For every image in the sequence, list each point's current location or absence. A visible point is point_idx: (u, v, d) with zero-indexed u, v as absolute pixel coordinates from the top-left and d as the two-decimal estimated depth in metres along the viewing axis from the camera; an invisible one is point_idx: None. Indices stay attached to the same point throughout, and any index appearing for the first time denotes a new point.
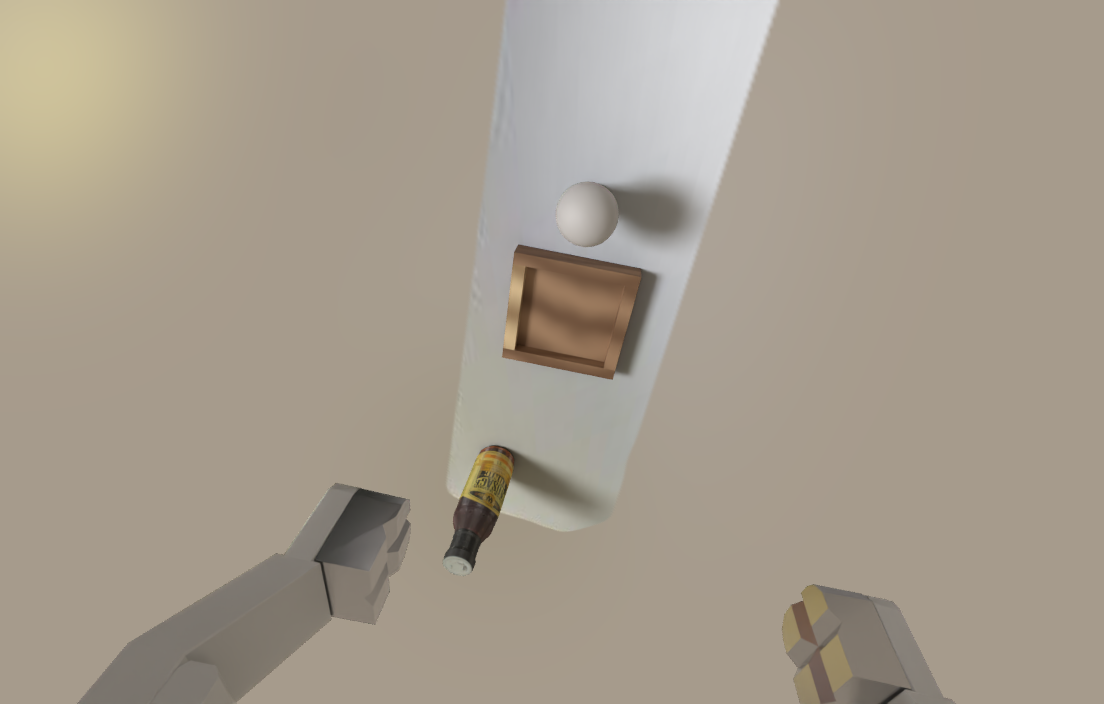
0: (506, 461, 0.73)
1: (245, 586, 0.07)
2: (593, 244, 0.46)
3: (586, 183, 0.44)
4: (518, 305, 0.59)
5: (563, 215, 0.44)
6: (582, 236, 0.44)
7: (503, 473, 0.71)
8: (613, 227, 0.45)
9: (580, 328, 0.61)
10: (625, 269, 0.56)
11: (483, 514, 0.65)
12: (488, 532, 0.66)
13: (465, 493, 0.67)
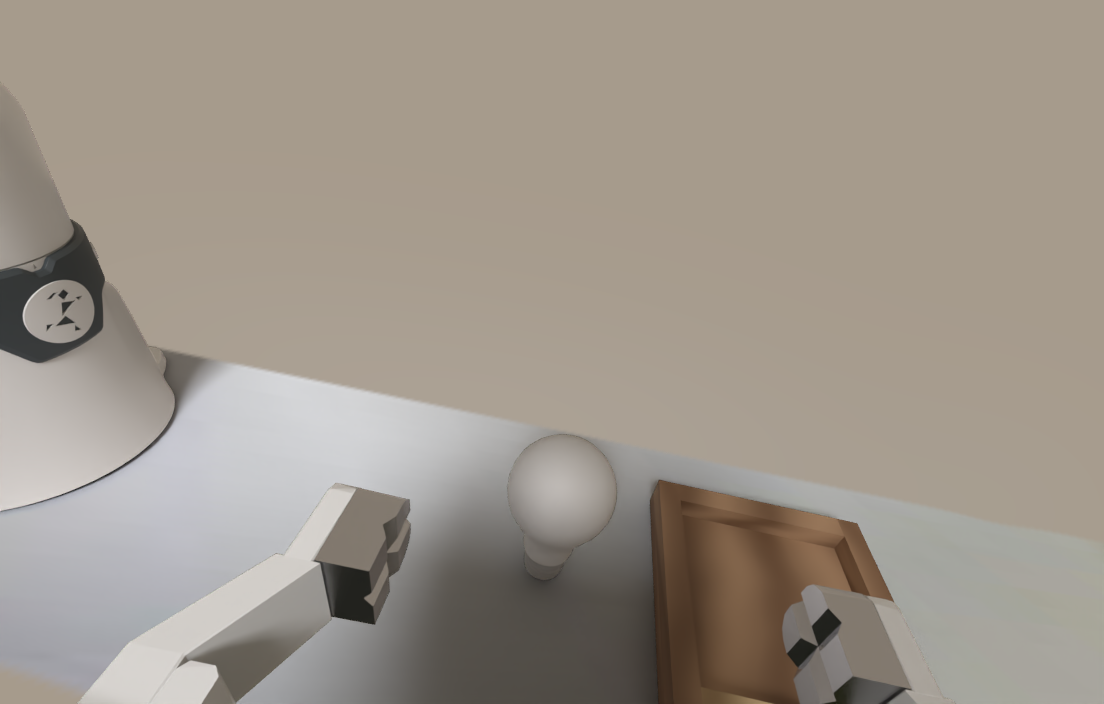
0: None
1: (245, 586, 0.07)
2: (607, 460, 0.26)
3: (508, 483, 0.26)
4: None
5: (560, 494, 0.24)
6: (594, 460, 0.25)
7: None
8: None
9: (791, 588, 0.32)
10: (655, 511, 0.35)
11: None
12: None
13: None
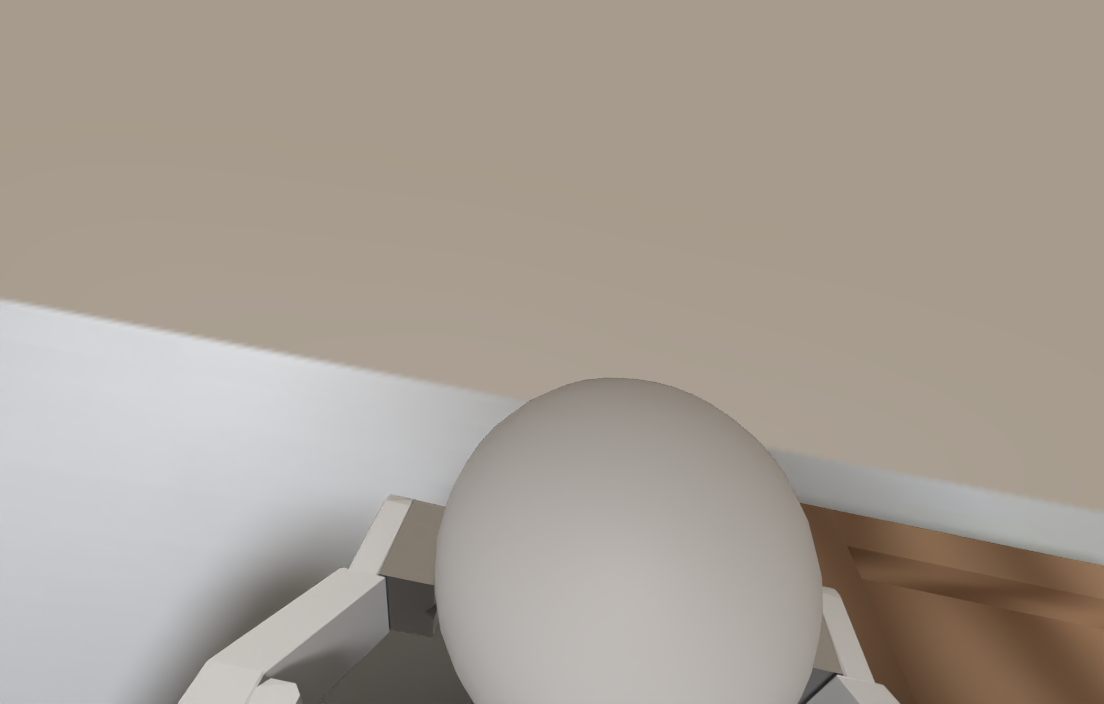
0: None
1: (315, 601, 0.07)
2: None
3: (438, 541, 0.08)
4: None
5: (642, 615, 0.05)
6: (752, 458, 0.07)
7: None
8: None
9: None
10: None
11: None
12: None
13: None
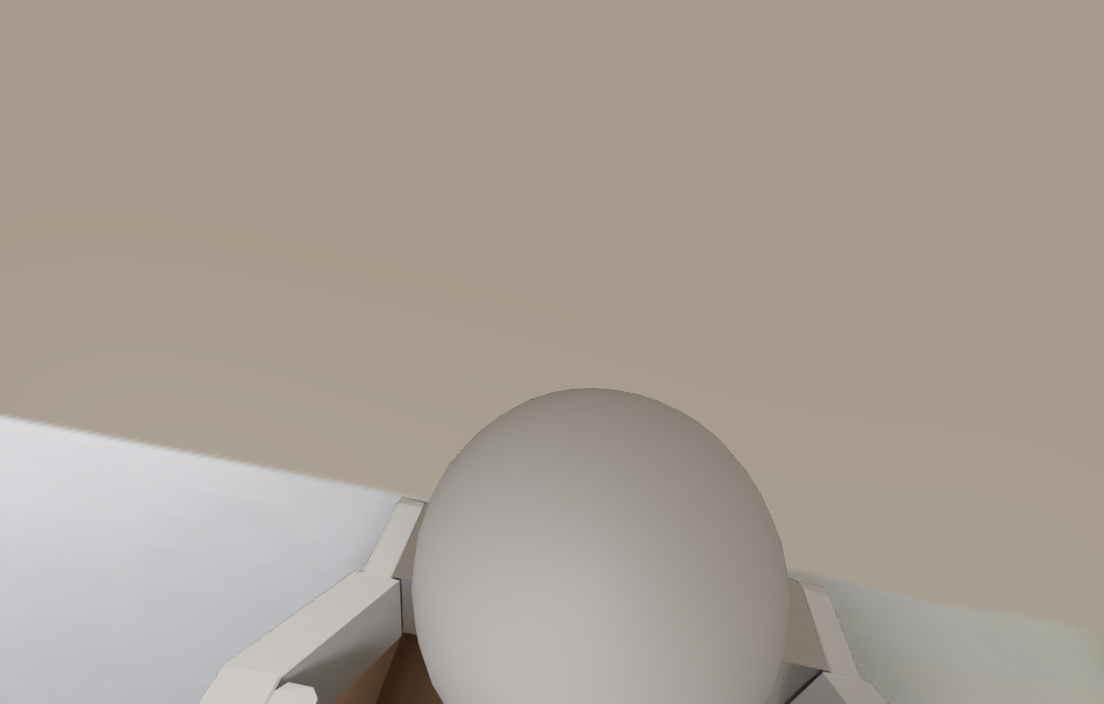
0: None
1: (330, 605, 0.07)
2: None
3: (415, 558, 0.08)
4: None
5: (586, 623, 0.05)
6: (703, 460, 0.07)
7: None
8: None
9: None
10: None
11: None
12: None
13: None
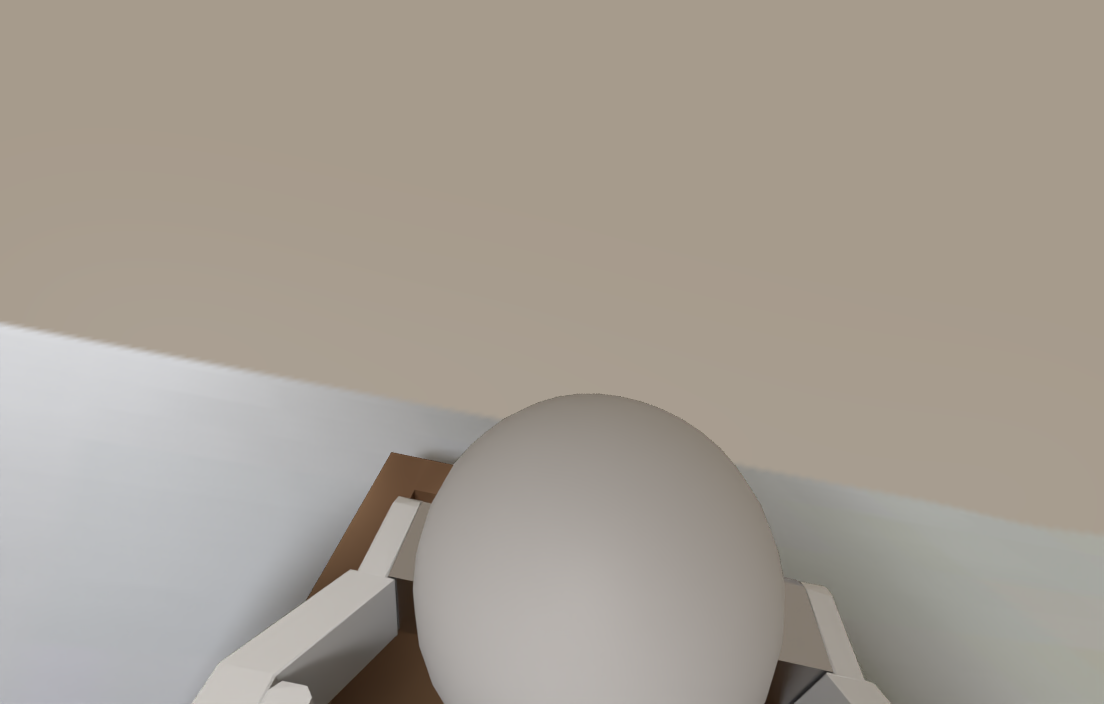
0: None
1: (325, 604, 0.07)
2: None
3: (417, 558, 0.08)
4: None
5: (597, 629, 0.05)
6: (710, 472, 0.07)
7: None
8: None
9: None
10: None
11: None
12: None
13: None
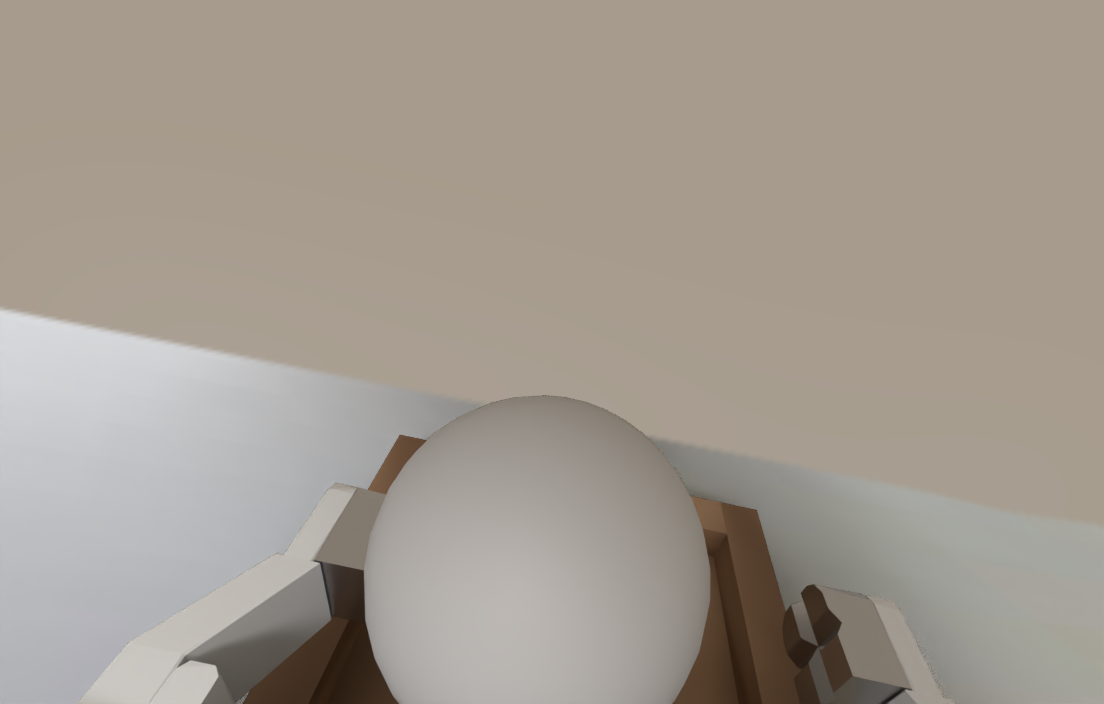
0: None
1: (245, 586, 0.07)
2: (683, 486, 0.09)
3: (370, 538, 0.08)
4: None
5: (531, 642, 0.06)
6: (659, 498, 0.07)
7: None
8: None
9: None
10: None
11: None
12: None
13: None
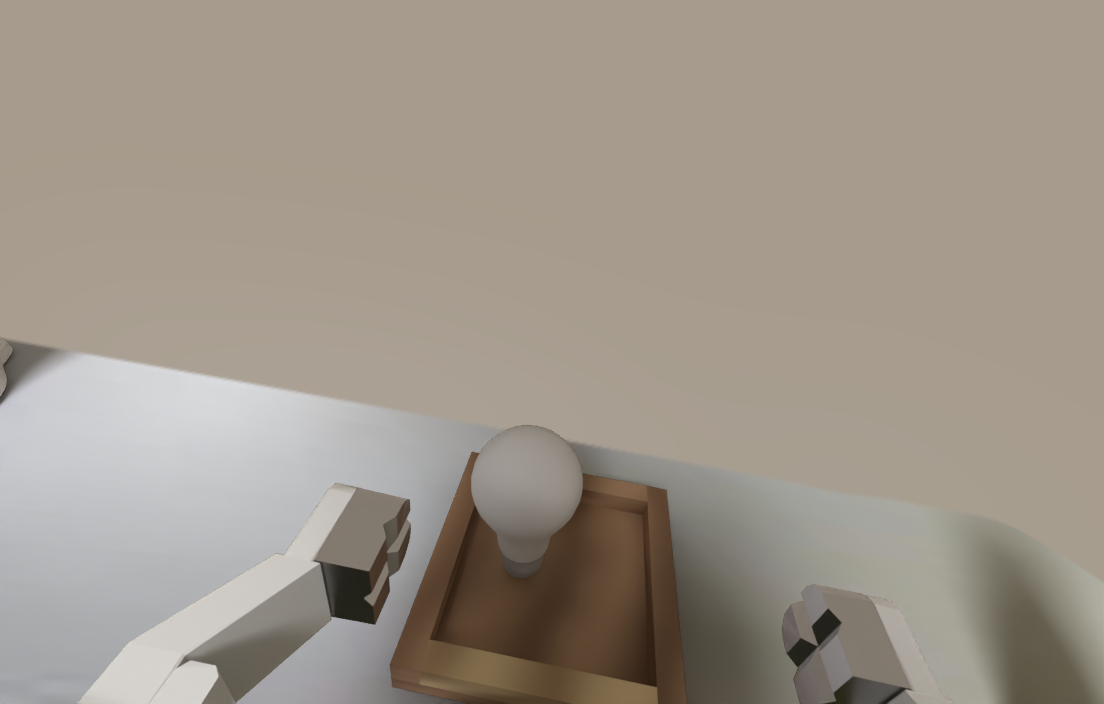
0: None
1: (245, 586, 0.07)
2: (571, 449, 0.26)
3: (471, 477, 0.26)
4: (528, 665, 0.24)
5: (517, 483, 0.23)
6: (553, 448, 0.24)
7: None
8: None
9: (580, 552, 0.32)
10: None
11: None
12: None
13: None
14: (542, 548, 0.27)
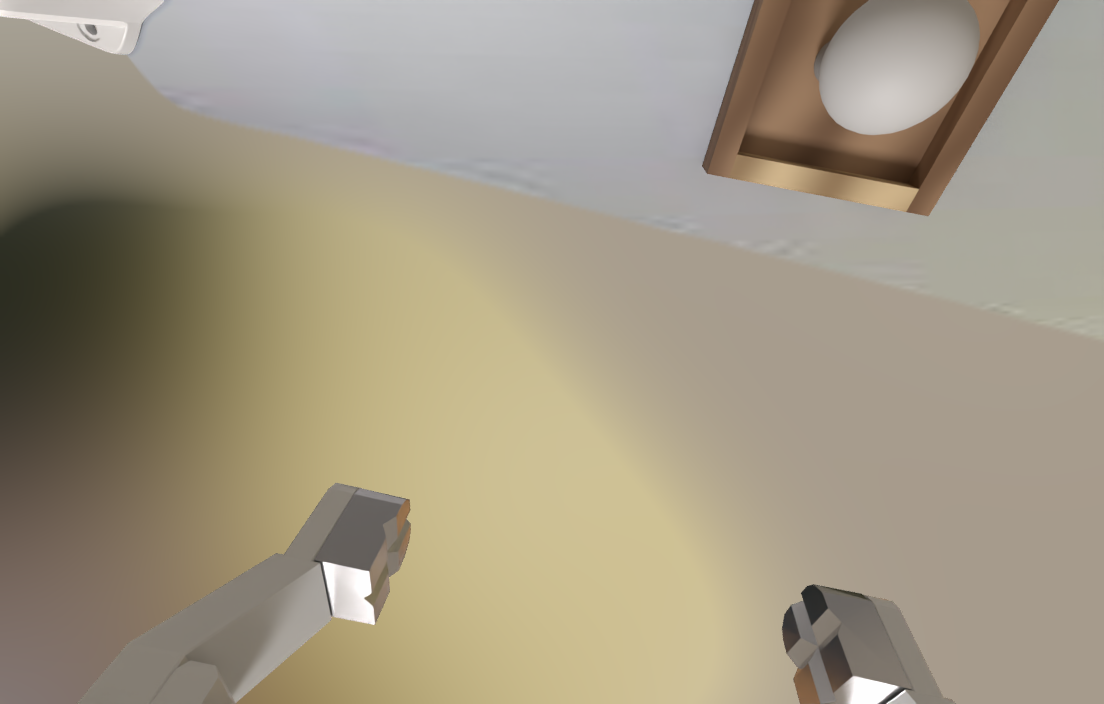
0: None
1: (245, 586, 0.07)
2: (977, 42, 0.20)
3: (826, 67, 0.23)
4: (815, 173, 0.31)
5: (884, 118, 0.22)
6: (952, 71, 0.20)
7: None
8: None
9: None
10: None
11: None
12: None
13: None
14: None
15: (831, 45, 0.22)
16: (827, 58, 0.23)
